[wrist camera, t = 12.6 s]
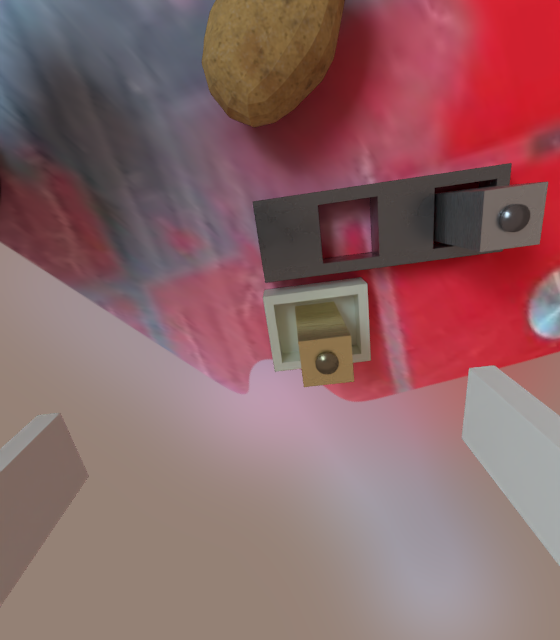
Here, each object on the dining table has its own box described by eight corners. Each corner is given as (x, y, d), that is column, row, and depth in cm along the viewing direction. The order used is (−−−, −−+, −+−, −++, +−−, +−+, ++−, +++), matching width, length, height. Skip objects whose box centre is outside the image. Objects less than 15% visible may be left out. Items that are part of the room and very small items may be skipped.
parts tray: (275, 359, 39) (274, 371, 37) (264, 289, 36) (262, 297, 34) (364, 348, 39) (370, 360, 36) (360, 277, 36) (367, 283, 33)
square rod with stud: (426, 238, 34) (482, 252, 24) (427, 194, 33) (487, 190, 23) (469, 233, 34) (543, 244, 24) (472, 188, 32) (552, 181, 23)
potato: (368, 15, 28) (399, -55, 20) (276, 160, 32) (273, 147, 24) (277, -72, 26) (274, -183, 18) (192, 94, 30) (161, 58, 23)
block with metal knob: (294, 306, 36) (298, 343, 27) (333, 301, 36) (351, 337, 26) (299, 341, 38) (304, 389, 28) (336, 337, 38) (355, 383, 28)
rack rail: (266, 276, 36) (265, 282, 33) (255, 201, 33) (252, 201, 30) (484, 247, 34) (502, 251, 32) (491, 166, 32) (511, 163, 29)
